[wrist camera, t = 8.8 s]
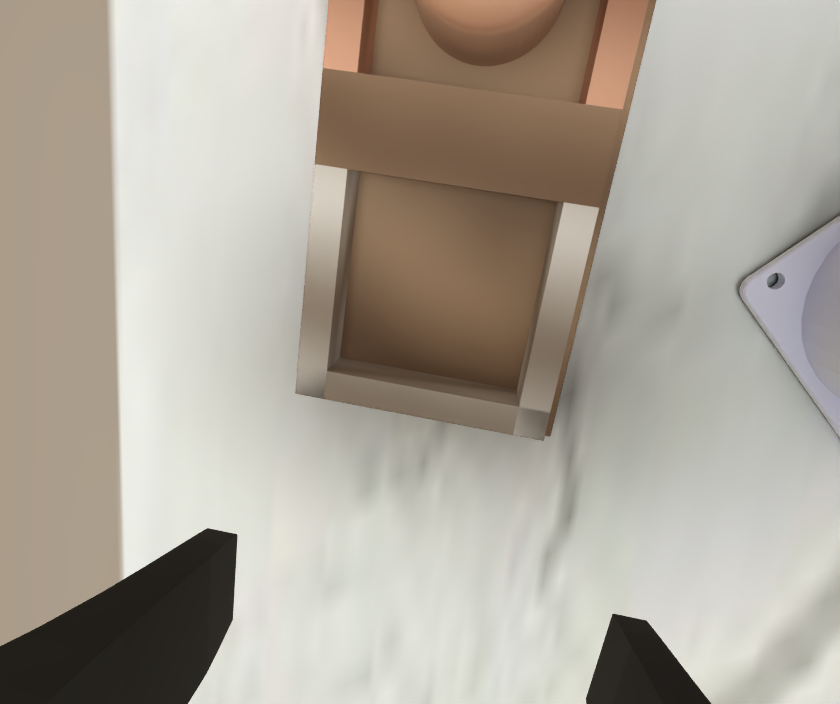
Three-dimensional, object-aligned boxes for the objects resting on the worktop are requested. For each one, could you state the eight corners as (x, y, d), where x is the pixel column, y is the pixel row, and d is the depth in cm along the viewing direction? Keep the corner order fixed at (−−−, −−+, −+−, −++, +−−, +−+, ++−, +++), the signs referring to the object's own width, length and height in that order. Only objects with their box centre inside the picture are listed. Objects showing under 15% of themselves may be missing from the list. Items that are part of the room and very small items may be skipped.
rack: (357, -221, 15) (333, -297, 13) (696, -190, 14) (735, -264, 12) (303, 381, 20) (280, 404, 18) (547, 427, 20) (555, 456, 17)
